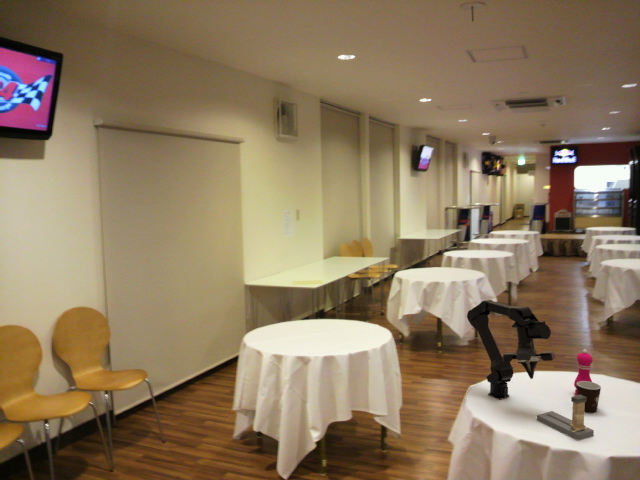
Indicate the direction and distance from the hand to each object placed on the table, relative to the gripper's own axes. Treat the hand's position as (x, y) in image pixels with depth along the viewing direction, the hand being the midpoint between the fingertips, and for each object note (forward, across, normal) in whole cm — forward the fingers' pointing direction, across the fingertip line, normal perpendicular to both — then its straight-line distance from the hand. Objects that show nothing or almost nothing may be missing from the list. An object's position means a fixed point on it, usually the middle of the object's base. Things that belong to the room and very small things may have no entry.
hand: (531, 378), depth 207 cm
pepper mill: (+13, +12, +29) cm, 34 cm away
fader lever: (+16, +16, -10) cm, 24 cm away
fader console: (+16, +11, -7) cm, 21 cm away
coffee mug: (+15, +17, +16) cm, 28 cm away
